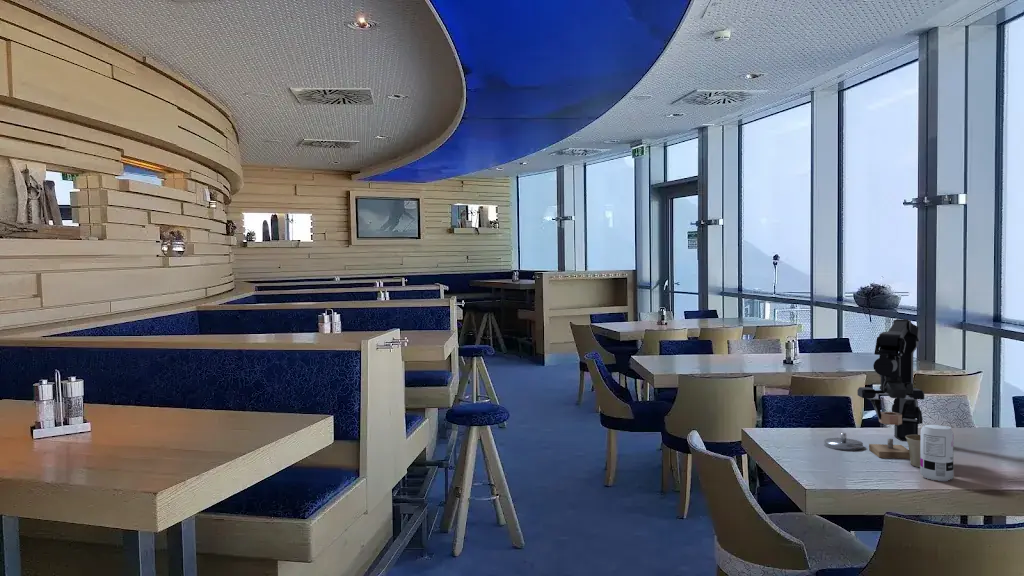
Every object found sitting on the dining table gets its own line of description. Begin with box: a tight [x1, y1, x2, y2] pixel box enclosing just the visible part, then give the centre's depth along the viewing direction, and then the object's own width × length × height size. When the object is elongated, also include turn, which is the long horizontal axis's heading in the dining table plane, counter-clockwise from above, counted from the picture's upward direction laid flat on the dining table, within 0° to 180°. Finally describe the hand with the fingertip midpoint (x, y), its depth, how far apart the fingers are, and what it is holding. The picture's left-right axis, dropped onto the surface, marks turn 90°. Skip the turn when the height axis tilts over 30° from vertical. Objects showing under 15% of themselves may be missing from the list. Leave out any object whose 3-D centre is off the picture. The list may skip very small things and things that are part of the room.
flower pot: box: [905, 434, 921, 468], centre depth 218 cm, size 9×9×9 cm
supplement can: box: [919, 423, 955, 482], centre depth 205 cm, size 8×8×15 cm
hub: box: [823, 432, 864, 452], centre depth 243 cm, size 12×12×4 cm
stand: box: [868, 438, 910, 460], centre depth 232 cm, size 10×10×5 cm
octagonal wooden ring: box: [878, 411, 902, 426], centre depth 231 cm, size 6×6×3 cm
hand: (890, 419), depth 231 cm, fingers closed on octagonal wooden ring, 6 cm apart
